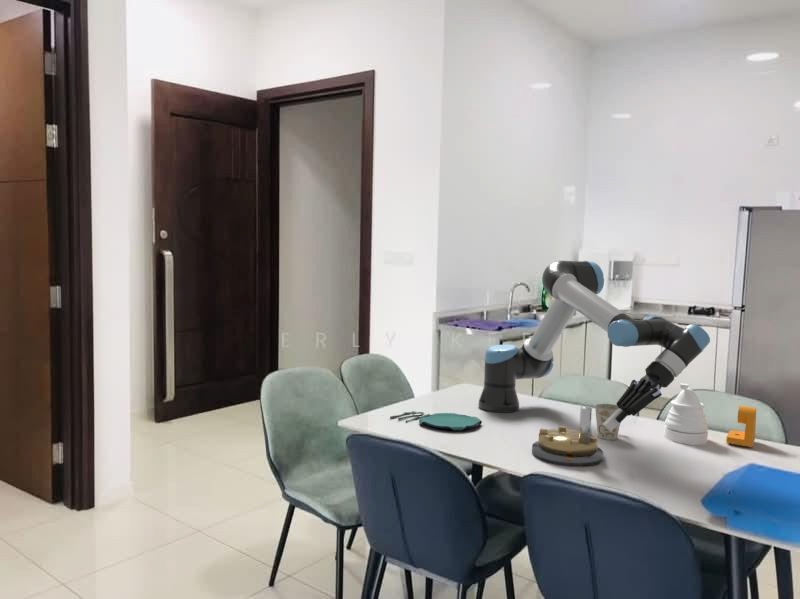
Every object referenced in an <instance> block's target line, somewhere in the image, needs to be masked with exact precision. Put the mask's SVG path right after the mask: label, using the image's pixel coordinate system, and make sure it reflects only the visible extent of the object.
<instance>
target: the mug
mask: <svg viewBox="0 0 800 599" xmlns="http://www.w3.org/2000/svg"><path fill="white" fill-rule="evenodd" d="M594 407H595V419H596V431H597V437H598V438H599V439H603V440H607V441H608V440H609V441H611V440H613V441H614V440H617V439H618V436H619V432H620V426H621V422H620V423H619V424H618V425H617V426H616V427H615V429H614V430H613V431H612V432H610V431H609V430H608V429H607V428H606V427H605V426H604V425H603V423H604V422H605V421H606V420H607V419H608V418H609V417H610V416H611V415H612V414H613V413H614V412H615V411H616V410H617V409H618V405H617V404H611V403H598V404H595V406H594Z"/></svg>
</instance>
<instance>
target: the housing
mask: <svg viewBox="0 0 800 599" xmlns="http://www.w3.org/2000/svg"><path fill="white" fill-rule="evenodd" d="M531 454H532V456H533V457H535V458H536V459H538V460H540V461H543V462H546V463H548V464H553V465H557V466H564V467H565V466H566V467H579V468H580V467H581V468H582V467H583V468H584V467H593V466H597V465H599V464H601V463H603V461H604V450H603V449H602V448H600V447H599V446H598V447H597V452H596V453H594V454H591V455H585V456H570V455H561V454H556V453H552V452H548V451H546V450H543V449H542V448H540V447H539V445H538V440H537V441H535V442H534V443H532V446H531Z"/></svg>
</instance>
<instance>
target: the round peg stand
mask: <svg viewBox="0 0 800 599" xmlns="http://www.w3.org/2000/svg"><path fill="white" fill-rule="evenodd" d="M592 411H593V407H590V406H580V416H579V430H574V429H573V430H572V429H567V427H566V425H565V426H562V425H558V426H557V428H556V429H555V428H552V429H548V428H542V427H541V428H540V429H539V433H538V440H537V441H538V445H539V447H540V448H542V449H543V450H546V451H548V452H552V453H556V454H561V455H570V456H585V455H591V454H594V453H596V452H597V447H599V446H598V445H599V444H598V443H599V439H598V438H599V437H598V436H597V437H596V436H595V435H593V434H592V430H591V429H592V428H591V427H592V414H593V413H592Z"/></svg>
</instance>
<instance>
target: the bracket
mask: <svg viewBox="0 0 800 599" xmlns="http://www.w3.org/2000/svg"><path fill="white" fill-rule="evenodd" d="M737 410H738V411H737V423H738V424H744V425H745V428H744V429H745V430H744V431H742V430H732V429H731V430H729V431H728V433H727V435H726V440H725V441H726V442H725V443H726V444H728V443H731V444H730V445H734V444H737V445H736V446H740V445H743V446H742V447H746V446H749V447H748V448H753V447H754V445H753V444H755V440H756V424H757V423H756V422H757V420H756V419H757V408H756V407H751V406H744V405H739V406H738V409H737ZM752 446H753V447H752Z"/></svg>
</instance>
